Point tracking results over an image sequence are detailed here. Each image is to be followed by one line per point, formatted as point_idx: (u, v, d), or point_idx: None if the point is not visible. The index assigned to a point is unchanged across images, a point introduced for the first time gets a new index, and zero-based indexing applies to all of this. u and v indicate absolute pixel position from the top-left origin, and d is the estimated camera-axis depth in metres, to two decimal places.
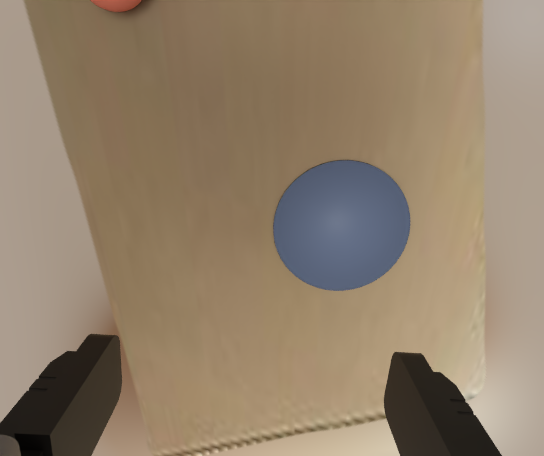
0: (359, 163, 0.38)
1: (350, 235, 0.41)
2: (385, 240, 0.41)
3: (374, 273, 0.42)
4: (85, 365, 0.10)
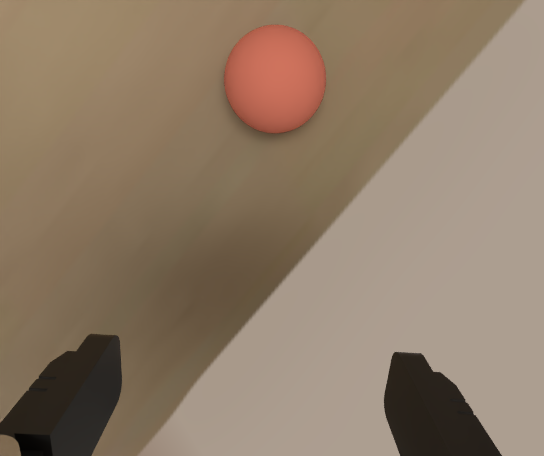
0: None
1: None
2: None
3: None
4: (85, 365, 0.10)
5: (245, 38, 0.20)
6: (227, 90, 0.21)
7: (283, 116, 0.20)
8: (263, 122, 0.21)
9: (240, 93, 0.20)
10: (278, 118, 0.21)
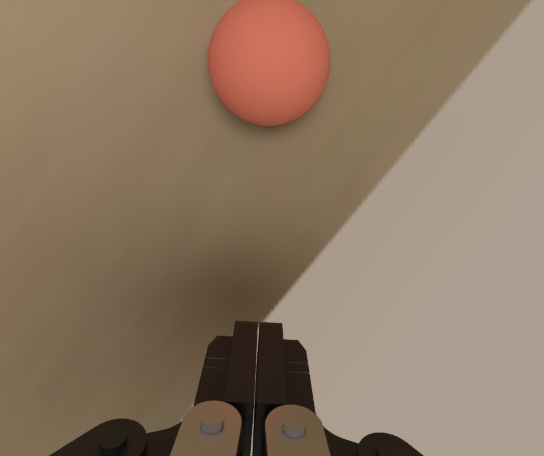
0: None
1: None
2: None
3: None
4: (248, 347, 0.11)
5: (231, 10, 0.17)
6: (211, 74, 0.17)
7: (280, 104, 0.17)
8: (255, 111, 0.17)
9: (227, 77, 0.17)
10: (273, 107, 0.17)
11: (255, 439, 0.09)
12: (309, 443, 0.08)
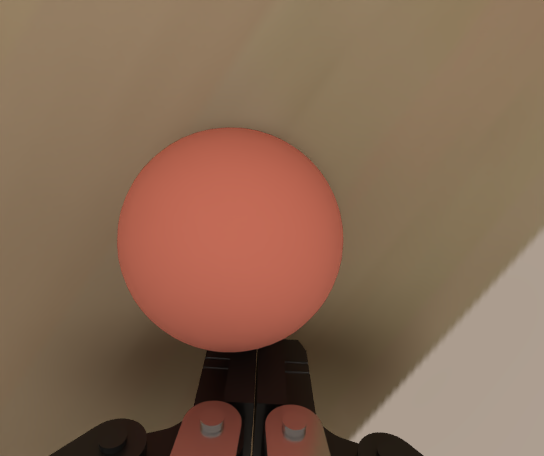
0: None
1: None
2: None
3: None
4: None
5: (147, 175, 0.08)
6: None
7: (252, 345, 0.09)
8: None
9: (145, 305, 0.08)
10: (241, 348, 0.09)
11: (255, 439, 0.09)
12: (309, 443, 0.08)
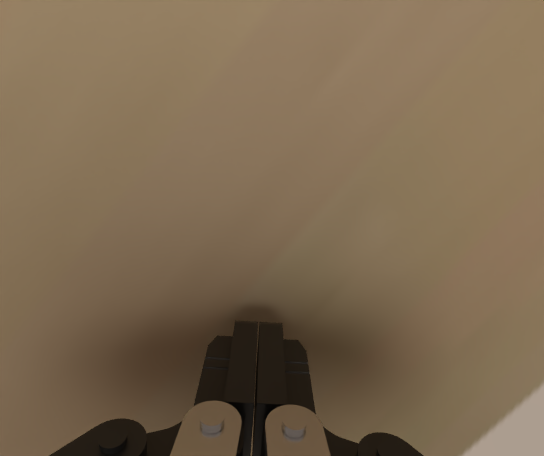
0: None
1: None
2: None
3: None
4: (248, 347, 0.11)
5: None
6: None
7: None
8: None
9: None
10: None
11: (255, 439, 0.09)
12: (309, 443, 0.08)
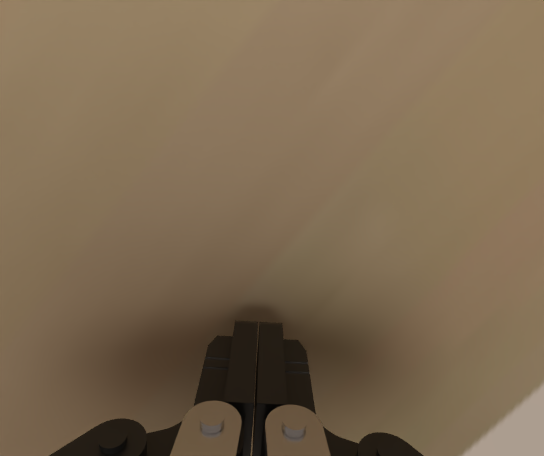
0: None
1: None
2: None
3: None
4: (248, 347, 0.11)
5: None
6: None
7: None
8: None
9: None
10: None
11: (255, 439, 0.09)
12: (309, 443, 0.08)
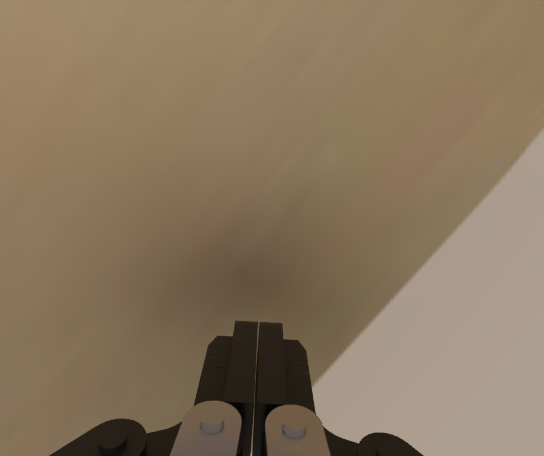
0: None
1: None
2: None
3: None
4: (248, 346, 0.11)
5: None
6: None
7: None
8: None
9: None
10: None
11: (255, 439, 0.09)
12: (309, 443, 0.08)
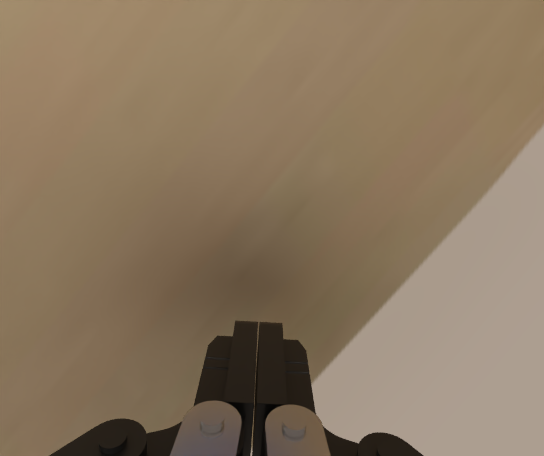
0: None
1: None
2: None
3: None
4: (248, 347, 0.11)
5: None
6: None
7: None
8: None
9: None
10: None
11: (255, 439, 0.09)
12: (309, 443, 0.08)
